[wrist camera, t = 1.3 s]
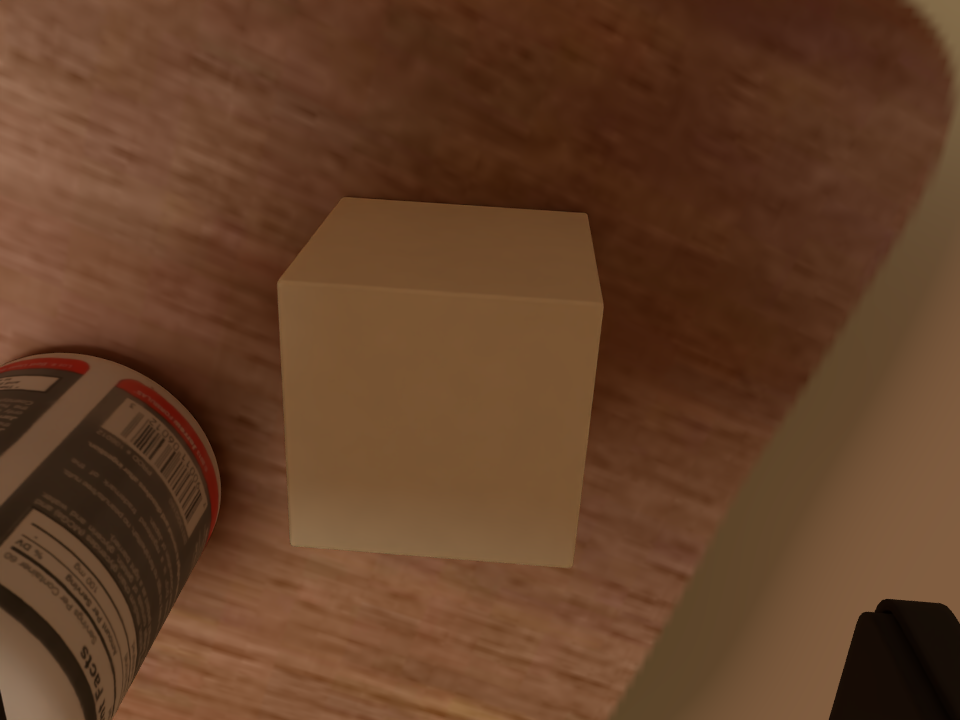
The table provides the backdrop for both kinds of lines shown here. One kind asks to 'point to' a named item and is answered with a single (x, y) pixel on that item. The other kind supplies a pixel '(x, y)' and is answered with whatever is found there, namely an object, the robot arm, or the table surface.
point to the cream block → (440, 380)
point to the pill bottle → (92, 528)
